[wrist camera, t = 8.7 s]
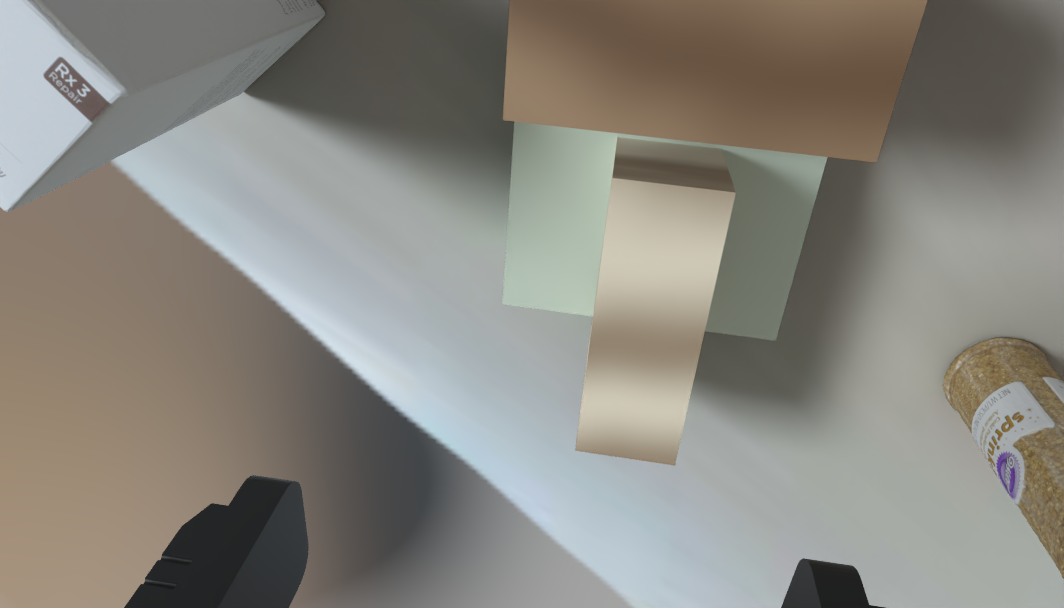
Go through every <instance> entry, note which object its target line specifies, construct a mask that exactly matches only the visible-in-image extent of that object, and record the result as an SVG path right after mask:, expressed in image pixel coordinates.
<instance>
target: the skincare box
mask: <svg viewBox="0 0 1064 608" xmlns="http://www.w3.org/2000/svg"><path fill="white" fill-rule="evenodd" d="M324 16H325V11H324V10H323V9H322V7H321V6H320V5H319V3H318V2H317V1H316V0H0V207H1V208H2V209H3V210H4V211H8V212H9V211H11V210H13V209H15V208H17V207H20V206H22V205H24V204H26V203H28V202H30V201H32V200H34V199H36V198H38V197H40V196H42V195H44V194H46V193H48V192H50V191H52V190H54V189H56V188H58V187H60V186H62V185H64V184H65V183H68V182H69V181H72V180H74V179H76V178H78V177H81V176H83V175H85V174H87V173H89V172H91V171H93V170H95V169H97V168H98V167H100V166H102V165H104V164H106V163H107V162H109V161H111V160H112V159H114V158H116V157H118V156H120V155H122V154H124V153H126V152H128V151H130V150H132V149H134V148H136V147H138V146H140V145H142V144H144V143H146V142H148V141H150V140H152V139H154V138H155V137H157V136H159V135H161V134H163V133H165V132H167V131H169V130H171V129H173V128H175V127H177V126H179V125H181V124H183V123H185V122H187V121H189V120H191V119H193V118H195V117H197V116H199V115H201V114H203V113H204V112H206V111H208V110H210V109H212V108H214V107H216V106H218V105H220V104H222V103H224V102H226V101H228V100H230V99H232V98H234V97H236V96H238V95H240V94H241V93H242V92H244V91H245V90H246V89H247V88H248V87H249V86H250V85H251V84H252V83H253V82H254V81H255V80H256V79H258V78H259V77H260V76H261V75H262V74H263V73H264V72H265V71H266V70H267V69H268V68H269V67H270V66H271V65H273V64H274V63H275V62H276V61H277V60H278V59H279V58H280V57H281V56H282V55H284V54H285V53H286V52H287V51H288V50H289V49H290V48H291V47H292V46H293V45H294V44H295V43H296V42H298V41H299V40H300V39H301V38H302V37H303V36H304V35H305V34H306V33H307V32H308V31H309V30H310V29H312V28H313V27H314V26H315V25H316V24H317V23H318V22H319V21H320V20H321V19H322V18H323V17H324Z"/></svg>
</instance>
